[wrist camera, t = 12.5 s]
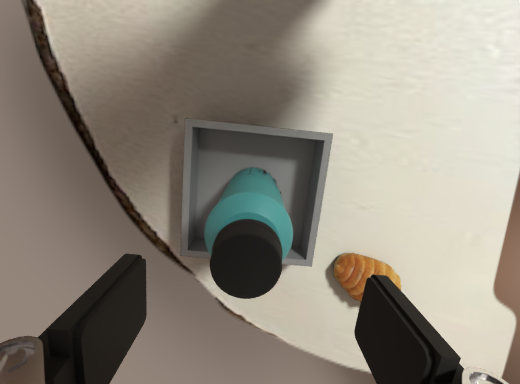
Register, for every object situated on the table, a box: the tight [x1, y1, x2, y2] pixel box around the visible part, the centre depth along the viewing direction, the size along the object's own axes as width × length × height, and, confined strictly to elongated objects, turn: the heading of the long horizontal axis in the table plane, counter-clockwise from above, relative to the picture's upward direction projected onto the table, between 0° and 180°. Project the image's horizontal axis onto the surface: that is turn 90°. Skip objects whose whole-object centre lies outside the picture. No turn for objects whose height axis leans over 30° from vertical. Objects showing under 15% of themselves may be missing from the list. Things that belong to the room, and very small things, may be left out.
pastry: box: [334, 253, 401, 302], centre depth 35 cm, size 9×7×4 cm
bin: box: [181, 118, 333, 267], centre depth 31 cm, size 16×16×5 cm
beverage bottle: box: [204, 166, 293, 299], centre depth 23 cm, size 6×7×20 cm
